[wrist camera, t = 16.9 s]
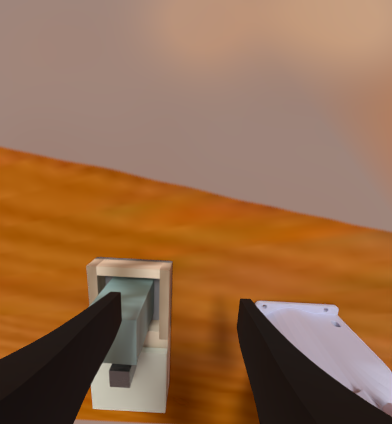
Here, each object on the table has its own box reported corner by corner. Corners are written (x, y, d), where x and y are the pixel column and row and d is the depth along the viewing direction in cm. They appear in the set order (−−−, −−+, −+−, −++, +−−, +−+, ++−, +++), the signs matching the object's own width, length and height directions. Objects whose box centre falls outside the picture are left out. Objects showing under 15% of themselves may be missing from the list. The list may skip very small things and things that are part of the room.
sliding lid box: (172, 261, 20) (169, 270, 18) (169, 382, 24) (166, 401, 22) (97, 257, 20) (86, 265, 18) (105, 379, 24) (96, 397, 22)
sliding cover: (167, 348, 20) (162, 373, 18) (166, 406, 22) (161, 437, 19) (90, 344, 20) (75, 368, 18) (95, 402, 22) (82, 432, 19)
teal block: (154, 278, 20) (136, 320, 15) (153, 312, 21) (136, 365, 16) (114, 275, 20) (80, 316, 15) (115, 309, 21) (84, 361, 16)
